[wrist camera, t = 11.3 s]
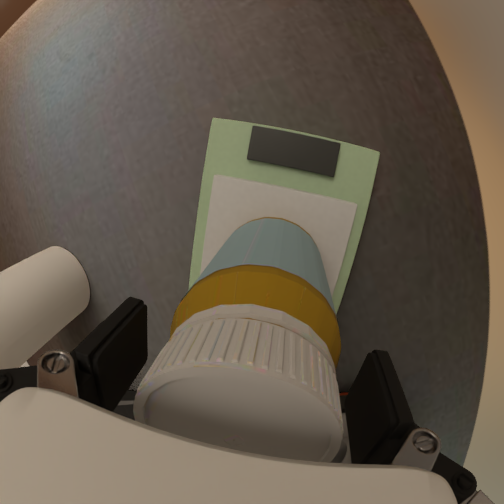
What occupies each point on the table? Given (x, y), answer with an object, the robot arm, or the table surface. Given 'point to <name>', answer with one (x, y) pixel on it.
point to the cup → (39, 302)
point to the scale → (284, 191)
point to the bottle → (253, 351)
